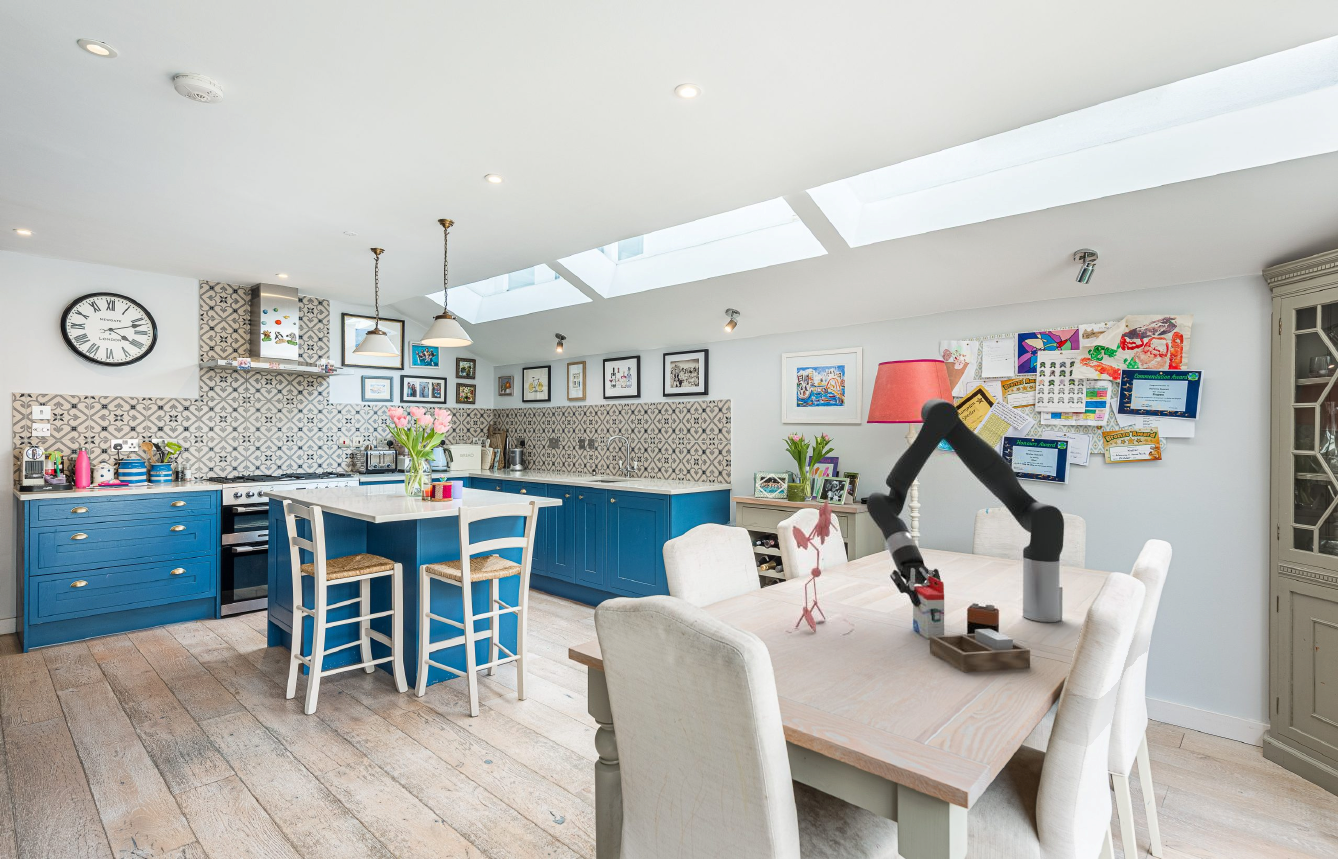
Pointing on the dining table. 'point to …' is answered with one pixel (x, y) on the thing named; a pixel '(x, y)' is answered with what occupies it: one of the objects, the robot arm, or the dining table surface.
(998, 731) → the dining table surface
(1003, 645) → the grey block
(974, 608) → the battery
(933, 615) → the ink box
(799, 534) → the figurine
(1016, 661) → the slot rack
